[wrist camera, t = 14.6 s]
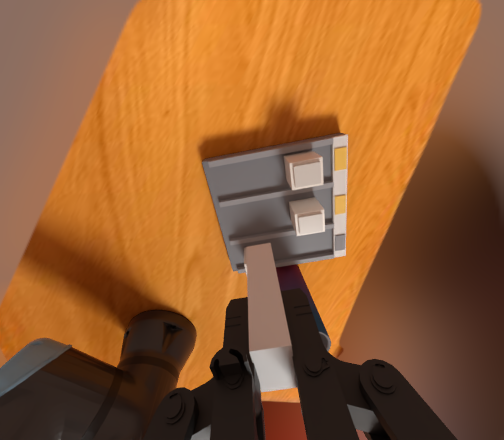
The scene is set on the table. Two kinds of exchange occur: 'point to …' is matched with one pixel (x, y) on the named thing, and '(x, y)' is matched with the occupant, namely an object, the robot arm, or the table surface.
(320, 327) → the cup
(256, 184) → the switch bank
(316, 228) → the tab middle
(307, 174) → the tab
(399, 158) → the table surface
